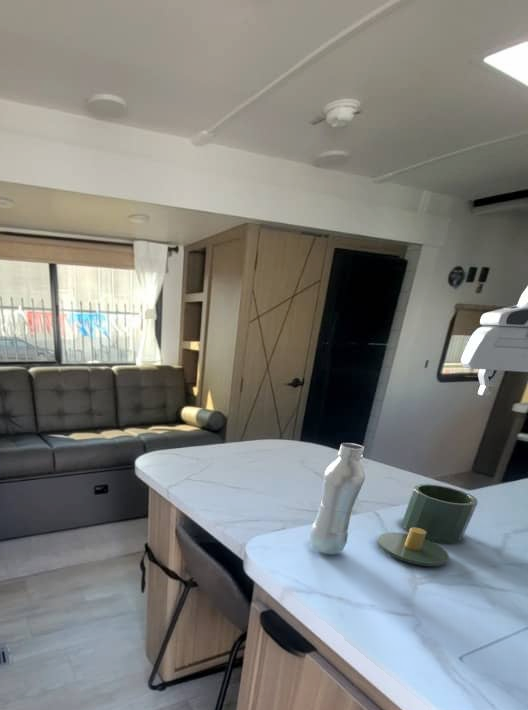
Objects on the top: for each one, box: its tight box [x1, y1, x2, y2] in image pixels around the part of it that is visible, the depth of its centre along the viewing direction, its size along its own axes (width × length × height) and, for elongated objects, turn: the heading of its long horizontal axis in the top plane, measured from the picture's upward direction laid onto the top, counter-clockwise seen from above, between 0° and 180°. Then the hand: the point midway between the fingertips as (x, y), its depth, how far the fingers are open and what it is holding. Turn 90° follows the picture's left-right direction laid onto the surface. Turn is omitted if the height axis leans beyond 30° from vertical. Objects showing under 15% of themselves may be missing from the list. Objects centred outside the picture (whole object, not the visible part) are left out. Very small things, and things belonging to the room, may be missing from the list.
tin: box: [401, 483, 479, 544], centre depth 83 cm, size 11×11×8 cm
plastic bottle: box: [308, 442, 366, 555], centre depth 72 cm, size 6×7×20 cm
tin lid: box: [377, 527, 449, 567], centre depth 75 cm, size 11×11×5 cm
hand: (511, 396), depth 77 cm, fingers open, 8 cm apart
